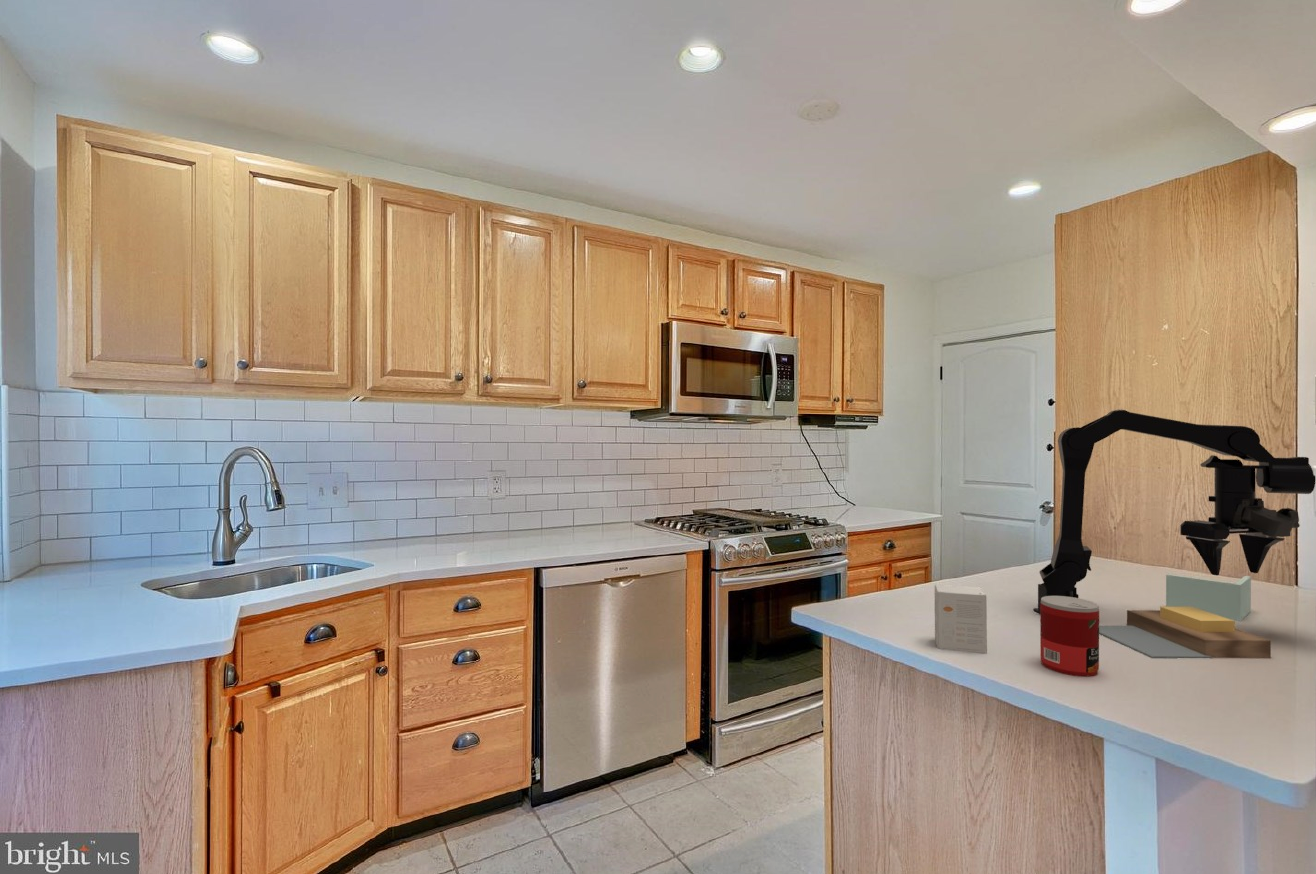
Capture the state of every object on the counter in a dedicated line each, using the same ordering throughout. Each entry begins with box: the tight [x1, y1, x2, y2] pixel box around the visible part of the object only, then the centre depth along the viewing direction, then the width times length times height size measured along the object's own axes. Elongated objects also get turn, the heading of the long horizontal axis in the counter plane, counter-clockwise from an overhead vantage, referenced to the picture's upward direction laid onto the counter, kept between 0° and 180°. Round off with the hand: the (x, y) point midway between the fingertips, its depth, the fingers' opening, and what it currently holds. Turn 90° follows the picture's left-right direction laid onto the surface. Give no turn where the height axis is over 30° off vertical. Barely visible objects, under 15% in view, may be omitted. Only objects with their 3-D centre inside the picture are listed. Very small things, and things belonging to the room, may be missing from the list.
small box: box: [934, 584, 988, 654], centre depth 111 cm, size 8×6×10 cm
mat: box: [1099, 625, 1212, 659], centre depth 114 cm, size 10×17×1 cm, turn 179°
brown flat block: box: [1126, 609, 1272, 659], centre depth 115 cm, size 11×18×3 cm, turn 179°
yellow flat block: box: [1159, 606, 1236, 632], centre depth 115 cm, size 6×9×2 cm, turn 179°
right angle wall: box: [1165, 573, 1252, 622], centre depth 135 cm, size 12×12×8 cm
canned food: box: [1039, 596, 1100, 677], centre depth 101 cm, size 8×8×11 cm
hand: (1234, 573), depth 117 cm, fingers open, 9 cm apart
